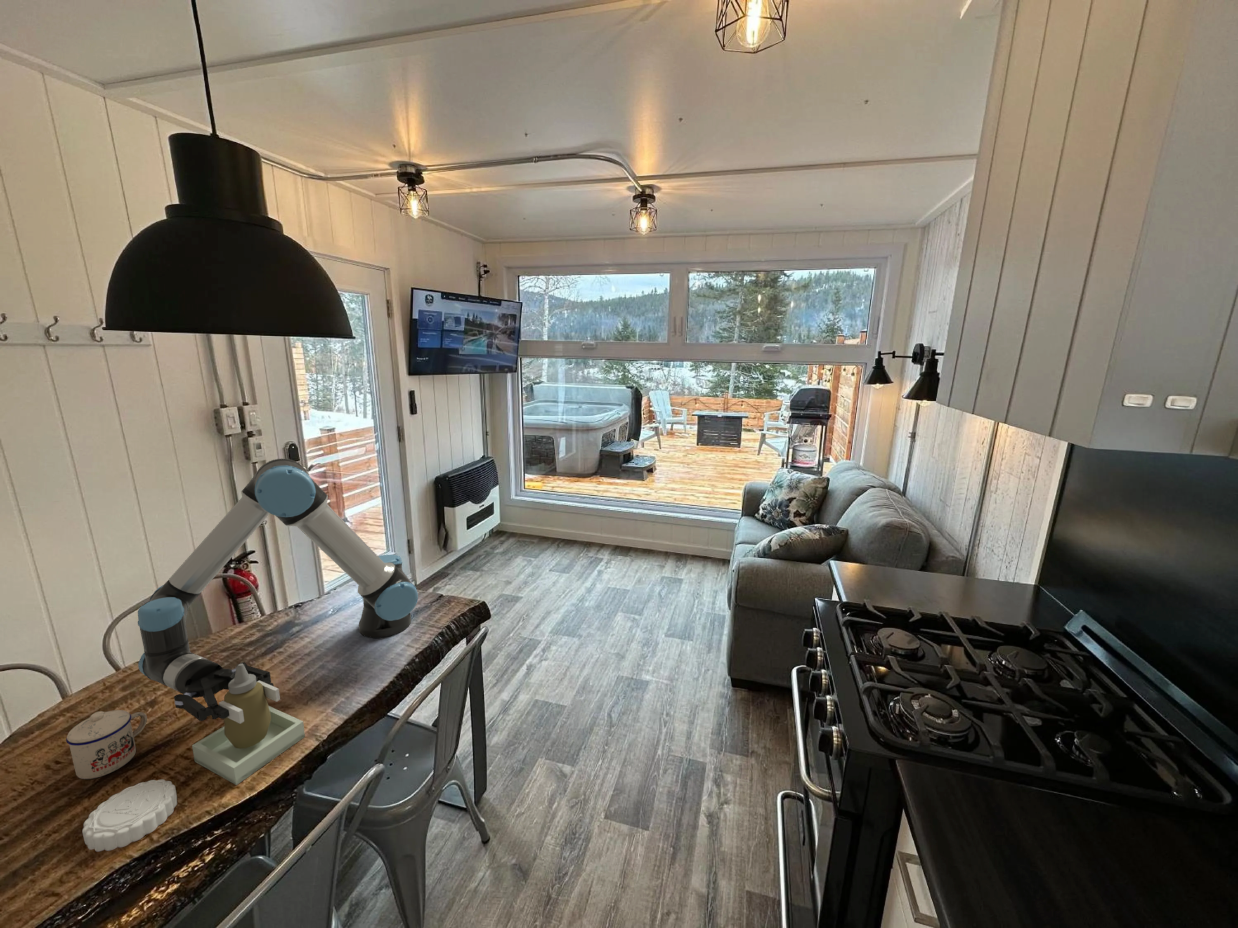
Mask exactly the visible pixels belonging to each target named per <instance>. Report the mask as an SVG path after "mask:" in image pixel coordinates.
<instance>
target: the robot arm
mask: <svg viewBox="0 0 1238 928" xmlns="http://www.w3.org/2000/svg"><path fill="white" fill-rule="evenodd" d="M253 475H254V476H252V478H251V479H250V480H249V482H248V483H247V484H246V485H245V487H243V488H242V490H241V491H240V492H241V498H239V500H238V501H237V502H236V504H234V506H233V507H232V508H231V509H230V510H229V511H228V512H227V513H226V515H225V516H224V517H223V518H222V519H221V520H220V521H219V522H218V524H216V526H215V527H213V529H212V530H211V531H210V532H209V534H208V535H207V536H206V537H205V538H204V539H203V541H202V542H200V543H199V545H198V546H197V547H196V548H195V549H194V550H193V551H192V553H191V554H189V556H188V557H187V558H186V559H185V560H184V562H183V563H182V564H180V566H179V567H178V568H177V569H176V570H175V571H174V573H173V574H172V575H171V576H170V577H169V578H168V580H167V581H166V582H165V583H164V584H163V585H160V586H159V587H158V588H156V590H155V591H154V592H153V593H152V595H151V596H150V598H149V601H148V602H146V603H145V604H143V605H141V606H139V608H138V610H137V618H138V619H137V620H138V621H137V626H138V627H139V631H140V636H141V641H142V647H143V653H142V655H141V656H140V658H139V661H138V664H137V667H138V670H139V672H140V673H141V674H143V675H144V676H145V677H146V678H147V679H149V680H151V681H155V682H157V683H160V684H161V685H163V686H166V687H168V688H170V689H172V690H174V691H175V692H179V694H176V695H174V696H173V699H174V700H173V701H174V705H175V708H176V709H179V710H180V709H182V710H184V711H185V712H187V713H188V714H190V715H191V716H193V717H194V718H195V719H197V720H198V721H199V722H204V721H205V720H207V719H208V717H211V719H212V720H217V719H219V718H220V719H221V720H224V719H225V718H229V719H231V720H233V721H236V722H238V723H240V724H241V723H242V722H244V716H243V710H242V709H240V708H238V707H236V706H234V705H231V704H229V703H226V702H225V701H224V700H221V701H220V702H218V701H217V698H216V696H215V694H218V693H219V692H221V691H224V690H227V691H229V688H228V684H229V682H230V681H231V680H233V679H234V678H235V672H236V667H235V668H233V669H231V668H224V667H223V666H222V665H221V664H218V663H217V662H214V661H212V660H211V659H209V658H206V657H203V656H201V655H198V654H196V653H194V652H191V649H190V643H189V637H188V631H187V622H186V621H187V617H188V611H189V608H190V606H191V605H192V604H193V603H194V602H195V601H196V599H197V598H198V597H199V596H200V595H201V593H202V592H203V591H204V589H206V587H207V586H209V584H210V583H211V582H212V581H213V579H214V578H216V576H217V575H218V574H219V572H221V570H222V569H223V568H224V567H225V565H227V563H228V562H229V561H230V560H231V559H232V558H233V557H234V555H235V554H236V553H237V552H238V551H239V550H240V548H241V547H242V546H243V545H244V544H246V542H247V540H248V539H249V538H251V536H252V535H253V534H254V532H256V530H257V529H258V528H259V526H261V524H262V523H263V522H265V520H266V519H267V518H268V517H269V515H270V514H271V515H273V516H275V517H276V518H277V519H278V520H279V521H280V522H282V523H283V524H284V525H285V526H286V527H297V528H298V529H299V530H300V531H301V532H302V533H304V534H305V535H306V537H307V538H308V539H309V540H310V541H312V543H314V545H316V546H317V548H319V549H320V550H321V551H322V552H323V553H324V554H325V555H326V556H327V557H328V558H329V559H331V561H332V562H333V563H335V565H337V566H338V567H339V568H340V569H341V570H342V571H343V572H344V573H345V574H346V575H348V576H349V578H350V579H352V580H353V581H354V582H355V583H356V584H357V593H358V594H359V595H360V596H361V597H362V602H363V608H362V610H361V611H362V612H361V616H360V619H359V622H358V632H359V633H360V635H361V636H364V637H366V638H373V639H374V638H375V639H376V638H385V637H390V636H393V635H397V634H399V633H401V632H403V631H405V630H406V629H407V628H408V627H409V626H410V625H411V624H412V623H411V622H412V615H411V614H412V613H411V612H412V611H413V610H414V609H415V608H416V606H417V603H418V601H419V593H418V590H417V587H416V585H415V584H413V582H412V581H411V580H410V579H409V577H408V576H407V574H405V572H404V571H403V561H402V557H401V556H399V555H398V554H383V555H377V553H376V552H375V551H374V550H373V549H372V548H370V546H369V545H368V544H367V543H366V542H365V541H364V540H363V539H362V538H360V536H359V535H358V534H357V533H356V532H355V531H354V530H353V529H352V528H351V527H350V525H349V524H347V523H346V521H344V519H342V517H340V516H339V515H338V514H337V512H336V511H335V510H333V508H331V506H329V504H328V498H329V496H328V494H327V493H326V492H325V491H324V489H322V487H320V486H319V484H317V483H316V482H315V480H314V479H313V478H312V477H311V476H310V475H309V474H308V472H307V470H306V468H305V467H303V465H302V464H300V463H299V462H297V461H295V460H293V459H289V458H276V459H271V460H269V461H267V462H265V463H263V464H262V465H261V466H260V467H259V468H258V469H257V471H256V472H255V473H254V474H253ZM239 664H244V666H245V668H246V670H247V672H248V674H253V675H255V676H256V682H259V683H261V684H262V686H263V689H264V693H265V697H266V699H269V700H271V701H273V702H274V701H275V702H278V701H281V697H280V695H281V694H280V689H279V687H276V686H274V683H273V682H272V679H271V672H270V671H267V670H264V669H262V668H261V669H260V668H257V667H254V666H251V665H250V666H249V665H247V663H246V662H243V661H242V662H240V663H239ZM197 698H203V699H204V702H205V703H206V706H207V707H206V706H205V705H203V704H202V703H200V702H199V701H198V700H196V699H197Z"/></svg>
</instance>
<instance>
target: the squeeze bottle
mask: <svg viewBox="0 0 1238 928" xmlns="http://www.w3.org/2000/svg"><path fill="white" fill-rule="evenodd" d="M235 668H236V672H235V678H234V679H233V680H231V681H230V682H229V684H228V688H229V690H227V692H226V693H225V695H224V697H223V698H224V700H223V701H225V702H226V703H229V704H231V705H234V706H236V707H238V708H240V709H242V710H243V716H244V722H242V723H241V724H240V723H238V722H236V721H233V720H231V719H229V718H225V719H223V721H224V723H223V724H224V725H223V727H224V735H225V736H226V737H227V738H228V740H229V741H230V742H231V744H232V745H233V746H234V747H235V748H238V749H243V748H248V747H251V746H254V745H255V744H257V743H259V742H260V741H261V740H263V739H264V738H265V736H266V735H267V731H268V728H269V724H270V721H271V714H270V710H269V707H268V706H269V704H268V701H267V697H265V693H264V689H263V686H262V684H261V683H259V682H256V676H255V675H253V674H248V672H247V670H246V668H245V666H244V664H240V663H239V664H237V665H236V666H235Z"/></svg>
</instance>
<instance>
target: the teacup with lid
mask: <svg viewBox="0 0 1238 928" xmlns="http://www.w3.org/2000/svg"><path fill="white" fill-rule="evenodd" d="M137 717H140V722H139V724H138V726H137V728H136V729H135V730H133V727H132V723H131V721H133V719H135V718H137ZM147 721H148V716H147V714H146V713H145V712H142V711H137V712H133V713H132V714H130V712H129V711H127V710H123V709H116V710H115V709H114V710H108V711H99V710H98V711H96V712H94V713H92V714H91V715H90V716H89V717H88V718H86V719H85V720H82V721H81V722H79V723H78V724H76V725H75V726H73V727H72V729H70V730H69V732H68V733H67V736H66V743H67V744H68V746H69V749H70V753H71V758H72V759H71V760H72V762H73V768H74V771H75V775H76V777H77V778H79V779H82V780H92V779H97V778H100V777H103V776H106V775H109V774H111V773H113V772H115V771H117V770H119V769H120V768H122V767H124V766H125V765H126V764H128V763H129V762H131V760H132V759H133V758H134V756H135V754H136V752H137V747H136V742H135V737H136V736H138V735H139V734H140V733H141V732H143V731H144V729H145V726H146V725H147Z"/></svg>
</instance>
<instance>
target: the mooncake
mask: <svg viewBox="0 0 1238 928" xmlns="http://www.w3.org/2000/svg"><path fill="white" fill-rule="evenodd" d="M177 795H178V794H177V790H176V785H174V784H173V783H172V781H171V780H165V779H162V778H161V779H158V780H155V779H150V780H148V781H145V782H144V781H142V782H139V783H136V784H135V785H133V786H128V787H126V788H124V789H122V790H121V791H120V792H118V793H115V794H113V795H111V796H110V797H108V799H107V800H106V801H103V802H102V803H100V804H99V805H98V806H97V807H96V809H94V810H93V811H91V812H90V814H88V818H87V819H86V820H85V821H84V822H83V828H82V836H83V840H84V844H85V845H86V846H87V849H88V850H95V852H102V851H104V850H105V851H106V852H107V851H108V852H109V851H113V850H116V849H117V848H123V847H126V846H128V845H130V844H131V843H135V842H137V841H139V840H141V839H142V838H144V837H145V835H149V834H150V833H153V832H154V831H156V829H157V828H158V826H160V825H162V824H164V823H165V822H166V821H167V819H168V817H170V816H171V815H172V814H173V813H174V810H175V807H176V806H177V805H178V796H177Z"/></svg>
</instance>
